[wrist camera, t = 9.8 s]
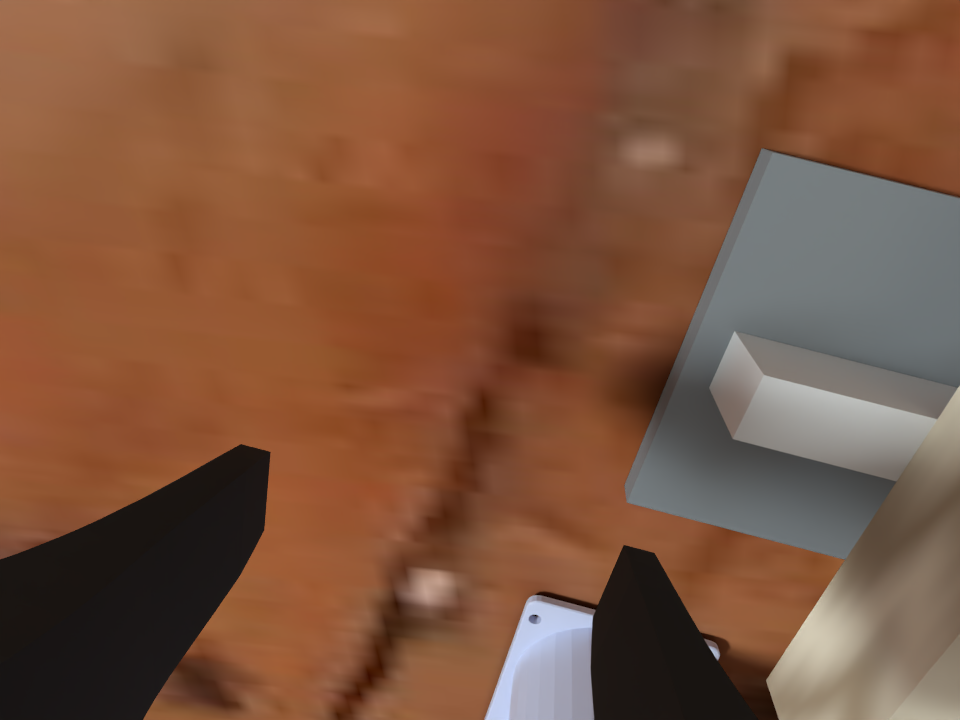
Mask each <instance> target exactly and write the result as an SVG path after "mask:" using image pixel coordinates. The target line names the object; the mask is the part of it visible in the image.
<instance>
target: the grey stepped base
mask: <svg viewBox="0 0 960 720" xmlns="http://www.w3.org/2000/svg"><path fill="white" fill-rule="evenodd" d="M959 386H960V197H957V196H953V195H949V194H945V193H941V192H936V191H932V190H928V189H924V188H920V187H916V186H912V185H908V184H904V183H900V182H896V181H892V180H888V179H884V178H880V177H876V176H872V175H868V174H864V173H860V172H856V171H852V170H848V169H844V168H840V167H835V166H831V165H827V164H823V163H819V162H815V161H811V160H807V159H803V158H799V157H795V156H791V155H787V154H783V153H779V152H775V151H771V150H767V149H763V148H762V149H761V152H760V154H759V157H758V159H757V162H756V164H755V167H754V169H753V172H752V174H751V176H750V179H749V181H748V184H747V186H746V189H745V191H744V194H743V196H742V198H741V201H740V203H739V206H738V208H737V211H736V213H735V216H734V218H733V221H732V223H731V225H730V228H729V230H728V233H727V235H726V238H725V240H724V243H723V245H722V247H721V250H720V252H719V255H718V257H717V260H716V262H715V265H714V267H713V270H712V272H711V274H710V277H709V279H708V282H707V284H706V287H705V289H704V292H703V294H702V296H701V299H700V301H699V304H698V306H697V309H696V311H695V314H694V316H693V319H692V321H691V323H690V326H689V328H688V331H687V333H686V336H685V338H684V341H683V343H682V346H681V348H680V350H679V353H678V355H677V358H676V360H675V363H674V365H673V368H672V370H671V372H670V375H669V377H668V380H667V382H666V385H665V387H664V390H663V392H662V395H661V397H660V399H659V402H658V404H657V407H656V409H655V412H654V414H653V417H652V419H651V421H650V424H649V426H648V429H647V431H646V434H645V436H644V439H643V441H642V444H641V446H640V448H639V451H638V453H637V456H636V458H635V461H634V463H633V466H632V468H631V470H630V473H629V475H628V478H627V480H626V483H625V485H624V486H625V493H626V500H627V503H631V504H634V505H638V506H642V507H646V508H650V509H653V510H657V511H661V512H665V513H669V514H673V515H676V516H680V517H684V518H688V519H692V520H695V521H699V522H703V523H707V524H711V525H715V526H718V527H722V528H726V529H730V530H734V531H738V532H741V533H745V534H749V535H753V536H757V537H760V538H764V539H768V540H772V541H776V542H780V543H783V544H787V545H791V546H795V547H799V548H802V549H806V550H810V551H814V552H818V553H822V554H825V555H829V556H833V557H837V558H841V559H844V560H845V559H846V558H847V556H848V555H849V553H850V552H851V550H852V549H853V547H854V546H855V544H856V543H857V541H858V540H859V538H860V537H861V535H862V534H863V532H864V531H865V529H866V527H867V526H868V524H869V523H870V521H871V520H872V518H873V517H874V515H875V514H876V512H877V511H878V509H879V508H880V506H881V505H882V503H883V502H884V500H885V499H886V497H887V495H888V494H889V492H890V491H891V489H892V488H893V486H894V485H895V483H896V482H897V480H898V479H899V477H900V476H901V474H902V473H903V471H904V470H905V468H906V467H907V465H908V463H909V462H910V460H911V459H912V457H913V456H914V454H915V453H916V451H917V450H918V448H919V447H920V445H921V444H922V442H923V441H924V439H925V438H926V436H927V435H928V433H929V431H930V430H931V428H932V427H933V425H934V424H935V422H936V421H937V419H938V418H939V416H940V415H941V413H942V412H943V410H944V409H945V407H946V406H947V404H948V403H949V401H950V399H951V398H952V396H953V395H954V393H955V392H956V390H957V389H958V387H959Z"/></svg>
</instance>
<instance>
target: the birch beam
mask: <svg viewBox="0 0 960 720" xmlns="http://www.w3.org/2000/svg"><path fill="white" fill-rule="evenodd" d="M766 682H767V685H768V688H769V691H770V694H771V697H772V700H773V703H774V706H775V709H776V712H777V715H778V718H779V720H960V386H959V387H958V389H957V390H956V392H955V393H954V395H953V396H952V398H951V399H950V401H949V403H948V404H947V406H946V407H945V409H944V410H943V412H942V413H941V415H940V416H939V418H938V419H937V421H936V422H935V424H934V425H933V427H932V428H931V430H930V431H929V433H928V435H927V436H926V438H925V439H924V441H923V442H922V444H921V445H920V447H919V448H918V450H917V451H916V453H915V454H914V456H913V457H912V459H911V460H910V462H909V463H908V465H907V467H906V468H905V470H904V471H903V473H902V474H901V476H900V477H899V479H898V480H897V482H896V483H895V485H894V486H893V488H892V489H891V491H890V492H889V494H888V495H887V497H886V499H885V500H884V502H883V503H882V505H881V506H880V508H879V509H878V511H877V512H876V514H875V515H874V517H873V518H872V520H871V521H870V523H869V524H868V526H867V527H866V529H865V531H864V532H863V534H862V535H861V537H860V538H859V540H858V541H857V543H856V544H855V546H854V547H853V549H852V550H851V552H850V553H849V555H848V556H847V558H846V559H845V561H844V563H843V564H842V566H841V567H840V569H839V570H838V572H837V573H836V575H835V576H834V578H833V579H832V581H831V582H830V584H829V585H828V587H827V588H826V590H825V591H824V593H823V595H822V596H821V598H820V599H819V601H818V602H817V604H816V605H815V607H814V608H813V610H812V611H811V613H810V614H809V616H808V617H807V619H806V620H805V622H804V623H803V625H802V626H801V628H800V630H799V631H798V633H797V634H796V636H795V637H794V639H793V640H792V642H791V643H790V645H789V646H788V648H787V649H786V651H785V652H784V654H783V655H782V657H781V658H780V660H779V662H778V663H777V665H776V666H775V668H774V669H773V671H772V672H771V674H770V675H769V677H768V678H767V680H766Z"/></svg>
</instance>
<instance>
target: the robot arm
mask: <svg viewBox="0 0 960 720" xmlns="http://www.w3.org/2000/svg"><path fill="white" fill-rule="evenodd" d="M269 463H270V452H268V451H265V450H261V449H257V448H253V447H249V446H246V445H242V444H241V445H239V446H237V447H235V448H233V449H231V450H230V451H228V452H226V453H224V454H222V455H221V456H219V457H217V458H215V459H213V460H212V461H210V462H208V463H206V464H205V465H203V466H201V467H199V468H197V469H196V470H194V471H192V472H190V473H189V474H187V475H185V476H183V477H181V478H180V479H178V480H176V481H174V482H172V483H170V484H169V485H167V486H165V487H163V488H161V489H159V490H157V491H156V492H154V493H152V494H150V495H148V496H146V497H144V498H142V499H140V500H138V501H136V502H134V503H132V504H130V505H128V506H126V507H124V508H122V509H120V510H118V511H116V512H114V513H112V514H110V515H108V516H106V517H104V518H102V519H100V520H97V521H95V522H93V523H91V524H89V525H87V526H84V527H82V528H80V529H78V530H75V531H73V532H71V533H68V534H66V535H64V536H61V537H59V538H56V539H54V540H51V541H49V542H46V543H44V544H41V545H39V546H36V547H34V548H31V549H29V550H26V551H23V552H21V553H18V554H15V555H12V556H9V557H7V558H4V559H1V560H0V720H143V718H144V717H145V715H146V713H147V711H148V710H149V708H150V706H151V705H152V703H153V701H154V699H155V698H156V696H157V695H158V693H159V692H160V690H161V689H162V687H163V686H164V684H165V682H166V681H167V679H168V678H169V676H170V675H171V673H172V672H173V671H174V669H175V668H176V666H177V665H178V663H179V662H180V661H181V659H182V658H183V656H184V655H185V653H186V652H187V651H188V649H189V648H190V646H191V645H192V644H193V642H194V641H195V639H196V638H197V636H198V635H199V634H200V632H201V631H202V629H203V628H204V626H205V625H206V624H207V622H208V621H209V619H210V618H211V617H212V615H213V614H214V612H215V611H216V609H217V608H218V607H219V605H220V604H221V602H222V601H223V599H224V598H225V596H226V595H227V594H228V592H229V591H230V589H231V588H232V586H233V585H234V583H235V582H236V580H237V579H238V577H239V576H240V574H241V573H242V571H243V569H244V567H245V565H246V563H247V562H248V560H249V558H250V556H251V554H252V552H253V550H254V549H255V547H256V545H257V543H258V541H259V539H260V537H261V535H262V533H263V531H264V526H265V513H266V500H267V488H268V475H269ZM532 615H538V616H532ZM719 657H720V652H719V649H718V645H717V644H716V643H715V642H713V641H710V640H707V639H704V638H703V636H702V635H701V633H700V632H699V630H698V628H697V627H696V625H695V623H694V622H693V620H692V618H691V616H690V615H689V613H688V611H687V610H686V608H685V606H684V604H683V603H682V601H681V599H680V597H679V596H678V594H677V592H676V590H675V589H674V587H673V585H672V583H671V582H670V580H669V578H668V576H667V574H666V573H665V571H664V569H663V567H662V566H661V564H660V562H659V560H658V559H657V557H656V555H655V553H652V552H648V551H645V550H641V549H637V548H633V547H629V546H626V545H624V546H623V548H622V550H621V553H620V555H619V557H618V560H617V562H616V564H615V567H614V569H613V571H612V574H611V576H610V578H609V581H608V583H607V585H606V588H605V590H604V592H603V595H602V597H601V599H600V601H599V604H598V606H597V608H596V610H594V609H590V608H587V607H583V606H579V605H575V604H571V603H568V602H564V601H560V600H556V599H553V598H549V597H545V596H541V595H534V596H531V597H530V598H528V600H527V601H526V604H525V607H524V610H523V613H522V615H521V618H520V621H519V624H518V627H517V629H516V632H515V635H514V638H513V641H512V644H511V646H510V649H509V652H508V655H507V658H506V660H505V663H504V666H503V669H502V672H501V674H500V677H499V680H498V683H497V686H496V688H495V691H494V694H493V697H492V700H491V703H490V705H489V708H488V711H487V714H486V717H485V719H484V720H758V719H757V717H756V716H755V714H754V713H753V712H752V710H751V709H750V708H749V706H748V705H747V703H746V702H745V701H744V699H743V698H742V696H741V695H740V693H739V692H738V690H737V689H736V687H735V686H734V684H733V683H732V682H731V680H730V679H729V677H728V676H727V674H726V673H725V671H724V670H723V668H722V667H721V665H720V664H719V662H718V659H719Z"/></svg>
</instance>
